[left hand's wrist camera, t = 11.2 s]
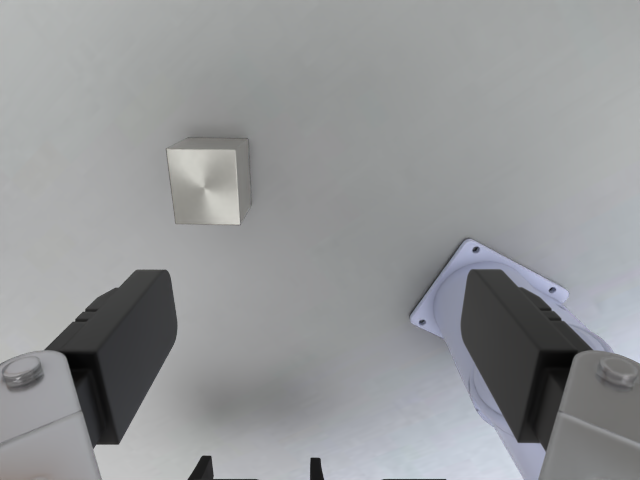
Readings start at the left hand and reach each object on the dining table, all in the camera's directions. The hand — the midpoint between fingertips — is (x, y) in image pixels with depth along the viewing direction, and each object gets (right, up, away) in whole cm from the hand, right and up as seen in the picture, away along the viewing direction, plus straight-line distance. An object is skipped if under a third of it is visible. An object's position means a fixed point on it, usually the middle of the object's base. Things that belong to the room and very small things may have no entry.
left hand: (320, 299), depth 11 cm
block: (-7, +6, +17) cm, 19 cm away
